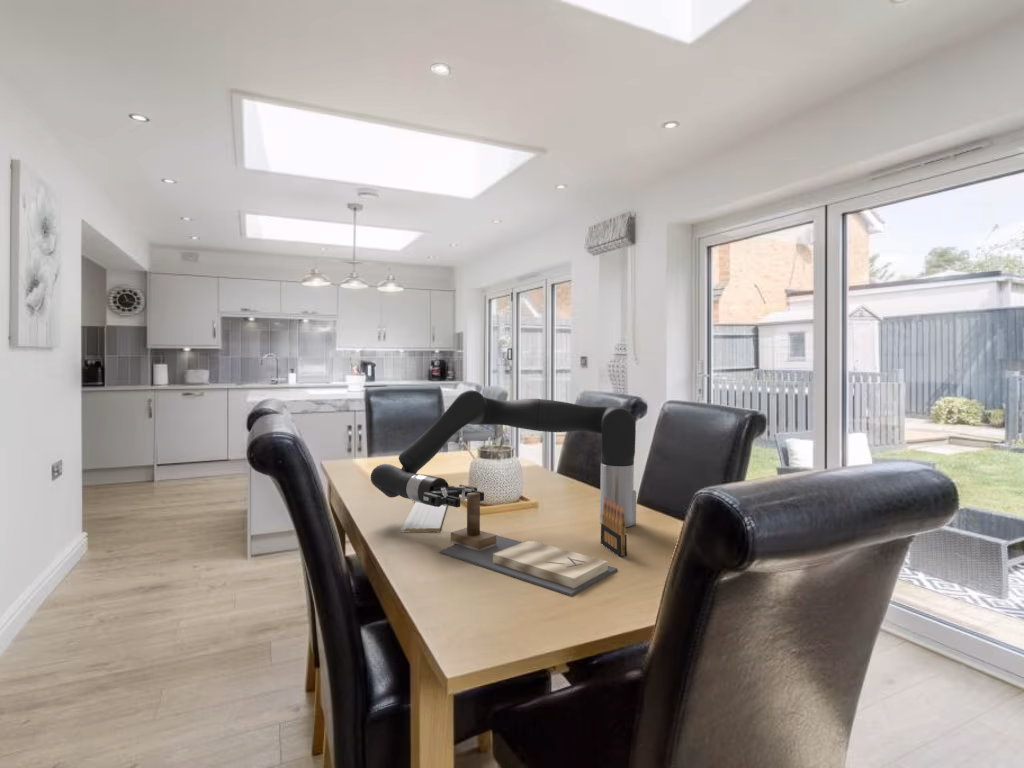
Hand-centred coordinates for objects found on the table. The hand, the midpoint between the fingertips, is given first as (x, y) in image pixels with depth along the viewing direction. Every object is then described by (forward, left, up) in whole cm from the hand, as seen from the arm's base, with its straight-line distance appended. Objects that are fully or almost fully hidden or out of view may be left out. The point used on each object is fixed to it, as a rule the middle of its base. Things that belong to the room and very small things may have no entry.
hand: (471, 500), depth 139 cm
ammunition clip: (-32, +13, -12) cm, 37 cm away
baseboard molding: (+6, -31, -12) cm, 34 cm away
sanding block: (-1, 0, -11) cm, 11 cm away
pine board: (-12, +20, -12) cm, 26 cm away
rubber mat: (-9, +14, -12) cm, 20 cm away
